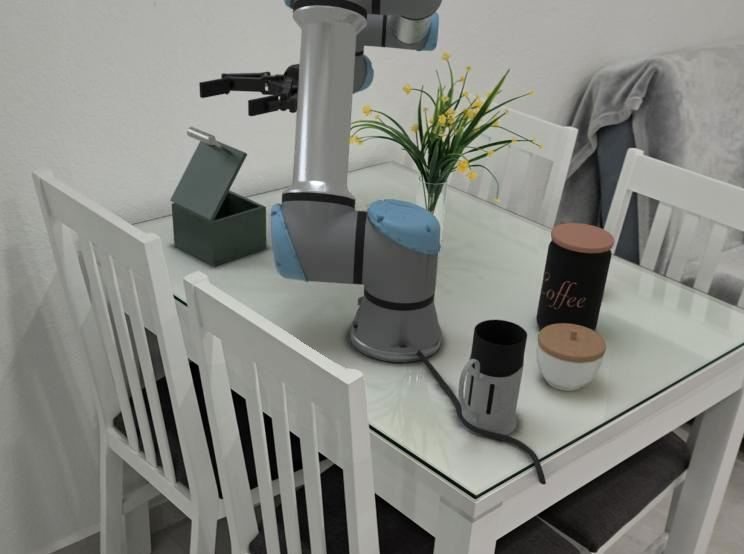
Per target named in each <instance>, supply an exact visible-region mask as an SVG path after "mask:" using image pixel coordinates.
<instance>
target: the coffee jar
mask: <svg viewBox="0 0 744 554" xmlns="http://www.w3.org/2000/svg"><path fill="white" fill-rule="evenodd" d="M550 237H551V241H550V242H549V243H548V246H547V252H546V259H545V265H544V269H543V276H542V282H541V287H540V294H539V298H538V299H539V300H538V305H537V311H536V317H535V319H536V324H537V326H538V328H539V330H540V331H541V330H542V329H543V328H544V327H546V326H549V325H552V324H559V323H567V324H575V325H580V326H584V327H587V328H589V329H591V330H593V331H595V332H596V329H597V326H598V321H599V316H600V311H601V307H602V303H603V299H604V292H605V289H606V284H607V279H608V274H609V269H610V265H611V260H612V256H613V255H612V250H611V249H613V246H614V244H615V238H614V236H613V234H611V233H610V232H609V231H607V230H605V229H603V228H601V227H598V226H595V225H591V224H587V223H581V222H580V223H579V222H565V223H561V224H557V225H555V226H554V227H553V228H551V231H550Z"/></svg>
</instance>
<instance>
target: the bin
mask: <svg viewBox="0 0 744 554" xmlns="http://www.w3.org/2000/svg"><path fill="white" fill-rule="evenodd" d="M171 216H172V231H173V232H172V233H173V244H174V245H173V246H174V247H175V248H178V249H179V250H181V251H184V252H185V253H187V254H188V255H191V256H193V257H194V258H196V259H198V260H200V261H202V262H204V263H206V264H208V265H209V266H211V267H217V266H220V265H222V264H226V263H229V262H231V261H235V260H238V259H241V258H243V257H246V256H249V255H252V254H255V253H257V252H260V251H263V250H266V249H267V206H265V205H263V204H261V203H259V202H257V201H255V200H252V199H251V198H247V197H246V196H243V195H241V194H238V193H237V192H234V191H231V189H230V190H229V192H228V193H227V195H226V197H225V199H224V201H223V203H222V205H221V207H220V209H219V211H218V213H217V215H216V217H215V219H214V221H211V220H208V219H206V218H204V217H202V216H200V215H198V214H196V213H194V212H192V211H190V210H188V209H186V208H184V207H182V206H180V205H178V204H176V203H174V202H171Z"/></svg>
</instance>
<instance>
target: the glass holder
mask: <svg viewBox="0 0 744 554" xmlns="http://www.w3.org/2000/svg"><path fill="white" fill-rule="evenodd" d="M527 340H528V333H527V331H526V329H524V327H522V326H521V325H519V324H518V323H515V322H512V321H509V320H504V319H486V320H483V321H480V322H478V323H477V324H476V325H475V326H474V328H473V336H472V344H471V352H470V355H469V358H468V361H467V362H466V364H465V365H464V367H463V368H462V370H461V373H460V376H459V382H458V389H457V390H458V400H459V402H460V405H461V408H462V415H463V417H464V418H465V420H466V421H467V422H469V423H470V424H472V425H473V426H475V427H477V428H479V429H482V430H486V431H490V432H494V433H499V434H503V435H507V436H508V435H509V434H512V432H514V431H515V430H516V428H517V425H518V421H517V420H518V419H517V417H516V412H517V408H518V407H517V406H518V400H519V395H520V388H521V383H522V377H523V371H524V364H525V363H524V362H525V353H526V352H525V351H526V346H527ZM465 381H466V382H465ZM458 420H459V421H458V422H459V423H460V424H461V426H462V427H463V428H464V429H465V430H467V431H469V432H471V433H472V434H474V435H478V436H481V437H484V436H483V435H480V434H477V433H475V432H473V431H471V430H469V429H468V428H467V427H465V426H464V425H463V424H462V422H461V421H460V419H459V418H458Z"/></svg>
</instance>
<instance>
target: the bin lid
mask: <svg viewBox="0 0 744 554" xmlns="http://www.w3.org/2000/svg"><path fill="white" fill-rule="evenodd" d="M186 134H187V136H188V137H189V138H192V139H193V140H197V141H199V142H198V144H197V147H196V149H195V151H194V152H193V153H192V154H193V155H192V156H191V158H190V161H189V162H188V164H187V166H186V168H185V170H184V172H183V174H182V176H181V178H180V180H179V182H178V184H177V186H176V187H175V190H174V191H173V193H172V195H171V197H170V200H169V202H171V203H176V204H178V205H180V206H182V207H184V208H186V209H188V210H190V211H192V212H194V213H196V214H198V215H200V216H202V217H204V218H206V219H208V220H211V221H214V219H215V217H216V215H217V213H218V211H219V209H220V207H221V205H222V203H223V201H224V199H225V197H226V195H227V193H228V192H229V190H230V191H231V188H232V186H233V184H234V183H235V180H236V178H237V176H238V173H239V172H240V170H241V168H242V166H243V165H244V162H245V160H246V158H247V157H248V153H246V152H244V150H243V151H242V150H240V149H238V148H235V147H233V146H231V145H229V144H226V143H224V142H221V141H218V140H217V139H216V136H215V135H213V134H210V133H209V132H206V131H204V130H201V129H199V128H196V127H193V126H189V127H188V128H187V130H186Z"/></svg>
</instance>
